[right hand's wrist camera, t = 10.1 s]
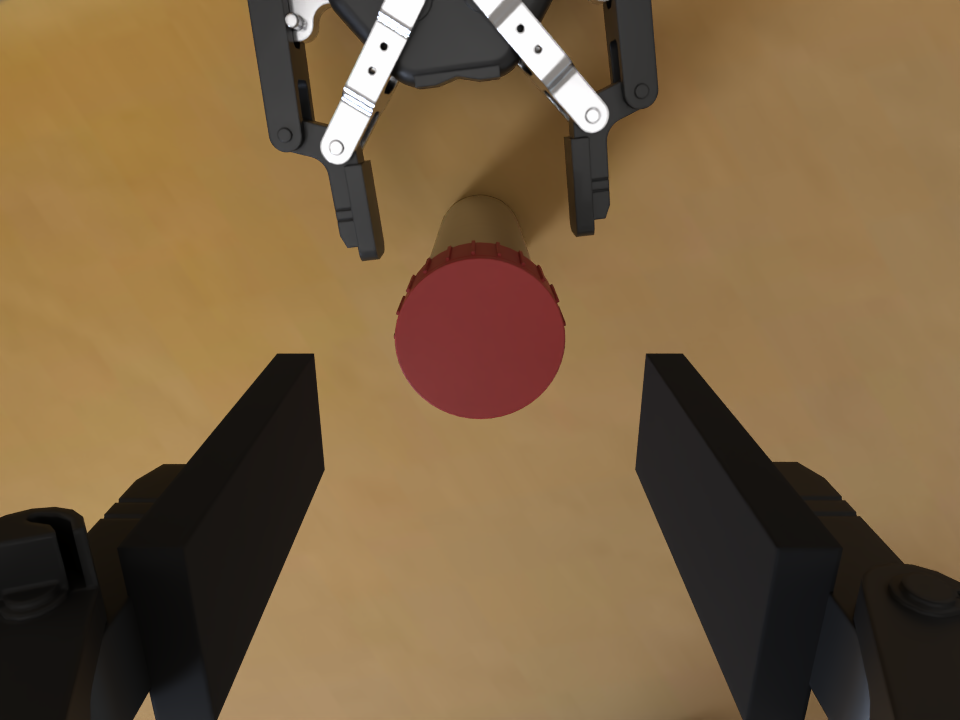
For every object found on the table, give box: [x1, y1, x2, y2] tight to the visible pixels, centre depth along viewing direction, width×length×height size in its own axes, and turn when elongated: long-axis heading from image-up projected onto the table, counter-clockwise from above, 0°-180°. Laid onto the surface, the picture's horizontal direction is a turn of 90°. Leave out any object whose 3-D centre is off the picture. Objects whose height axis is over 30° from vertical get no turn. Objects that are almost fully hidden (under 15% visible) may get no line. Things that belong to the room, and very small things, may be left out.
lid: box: [394, 240, 566, 419], centre depth 20 cm, size 5×5×2 cm
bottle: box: [430, 195, 531, 261], centre depth 26 cm, size 4×4×16 cm
